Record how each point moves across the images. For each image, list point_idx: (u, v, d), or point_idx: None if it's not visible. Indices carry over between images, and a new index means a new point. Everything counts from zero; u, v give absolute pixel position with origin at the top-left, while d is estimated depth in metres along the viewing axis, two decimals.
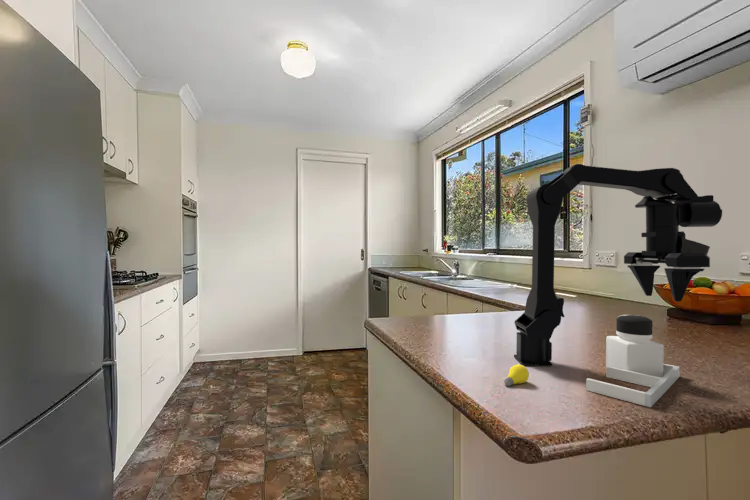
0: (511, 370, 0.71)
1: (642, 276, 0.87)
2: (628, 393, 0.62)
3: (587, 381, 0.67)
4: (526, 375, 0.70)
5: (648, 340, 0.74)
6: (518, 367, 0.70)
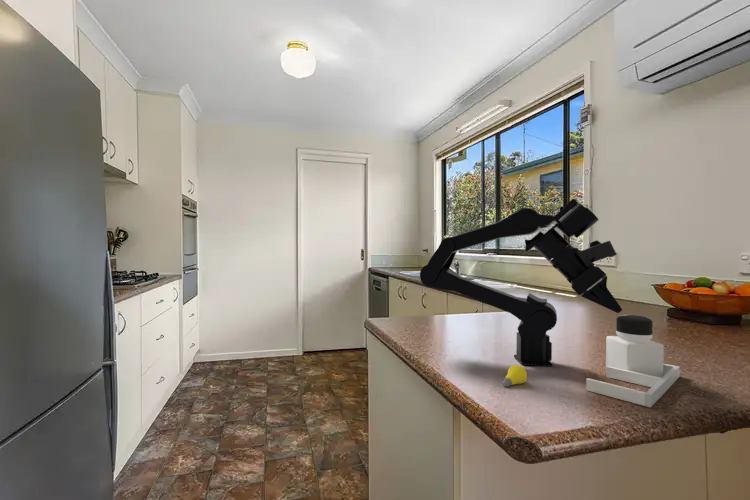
0: (509, 371, 0.71)
1: None
2: (628, 393, 0.62)
3: (587, 381, 0.67)
4: (524, 376, 0.69)
5: (648, 340, 0.74)
6: (516, 368, 0.70)
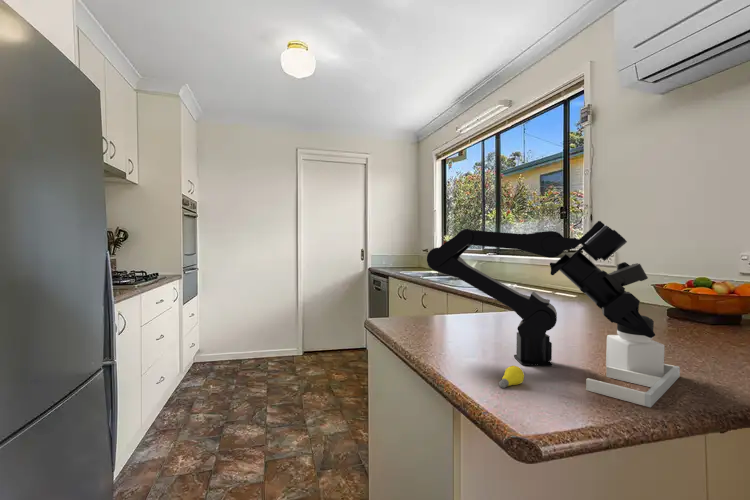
0: (506, 371, 0.70)
1: None
2: (628, 393, 0.62)
3: (587, 381, 0.67)
4: (521, 376, 0.69)
5: (649, 340, 0.73)
6: (513, 368, 0.70)
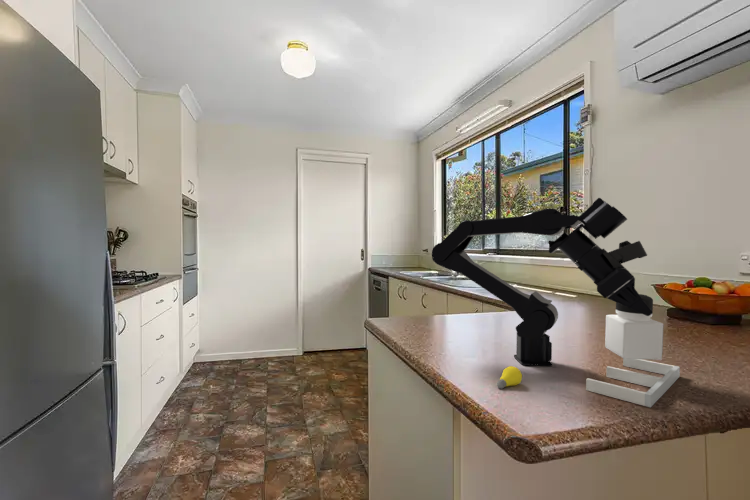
0: (504, 372, 0.70)
1: None
2: (628, 393, 0.62)
3: (587, 381, 0.67)
4: (519, 377, 0.69)
5: (647, 319, 0.72)
6: (511, 369, 0.69)
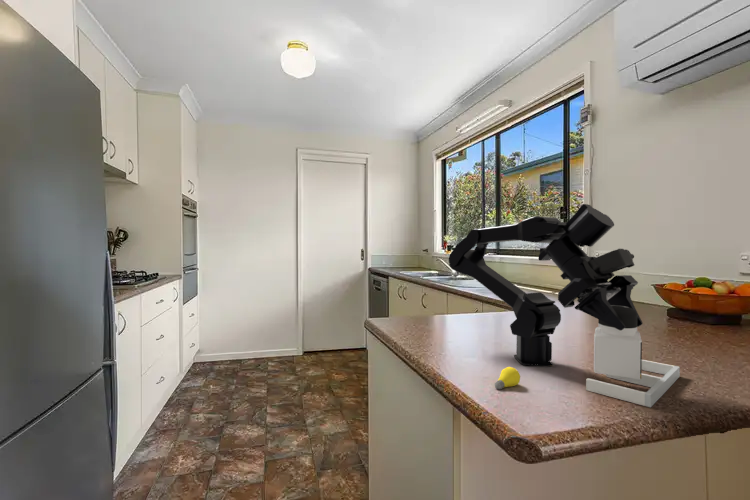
0: (502, 373, 0.69)
1: None
2: (628, 393, 0.62)
3: (587, 381, 0.67)
4: (517, 378, 0.68)
5: (625, 334, 0.66)
6: (509, 370, 0.69)
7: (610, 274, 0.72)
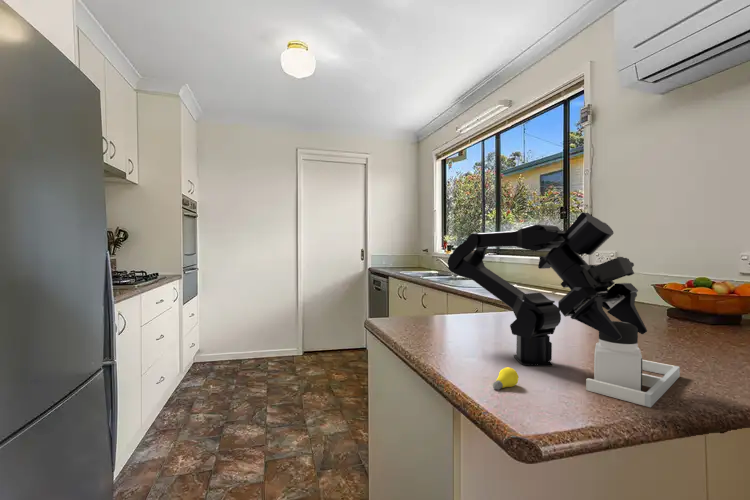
0: (500, 373, 0.69)
1: (622, 316, 0.73)
2: (628, 393, 0.62)
3: (587, 381, 0.67)
4: (515, 378, 0.68)
5: (626, 350, 0.66)
6: (507, 370, 0.69)
7: (610, 282, 0.72)
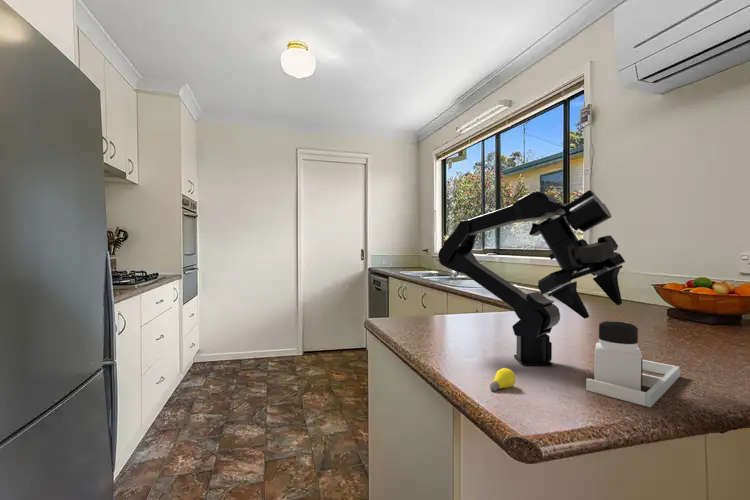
0: (497, 374, 0.69)
1: (604, 286, 0.78)
2: (628, 393, 0.62)
3: (587, 381, 0.67)
4: (512, 379, 0.67)
5: (626, 350, 0.66)
6: (504, 371, 0.68)
7: None
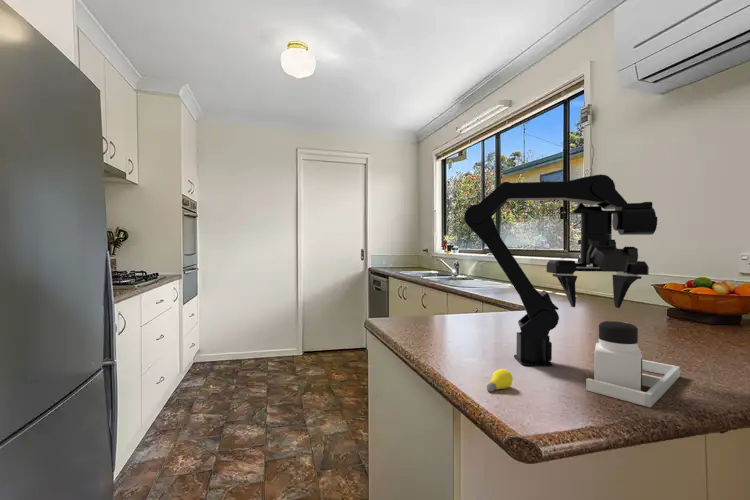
0: (494, 375, 0.68)
1: (616, 286, 0.81)
2: (628, 393, 0.62)
3: (587, 381, 0.67)
4: (509, 380, 0.67)
5: (626, 350, 0.66)
6: (501, 372, 0.68)
7: None
